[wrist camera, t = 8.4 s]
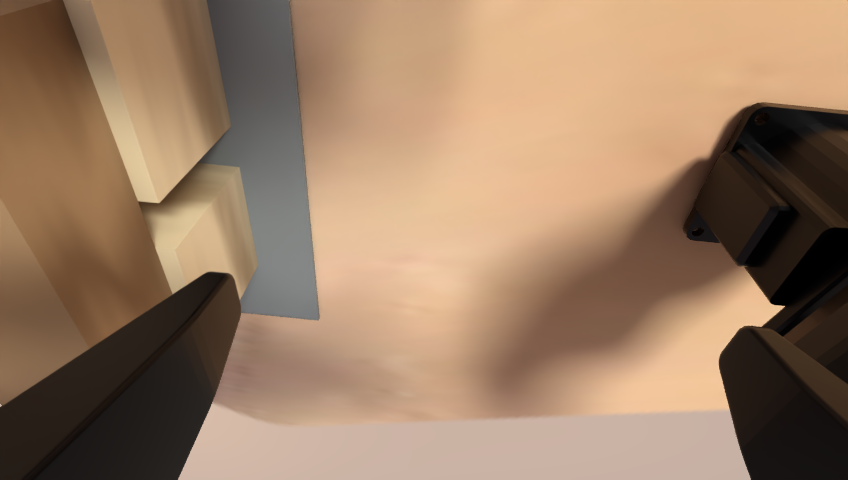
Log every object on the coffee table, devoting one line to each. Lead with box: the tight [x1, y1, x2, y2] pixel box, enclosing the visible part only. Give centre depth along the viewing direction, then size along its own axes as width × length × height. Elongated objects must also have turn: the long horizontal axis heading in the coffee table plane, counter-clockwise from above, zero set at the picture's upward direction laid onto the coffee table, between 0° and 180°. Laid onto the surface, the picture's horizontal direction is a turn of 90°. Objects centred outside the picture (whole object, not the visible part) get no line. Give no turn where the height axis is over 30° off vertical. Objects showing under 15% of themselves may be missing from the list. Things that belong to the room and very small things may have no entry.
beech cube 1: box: [63, 0, 231, 203], centre depth 16 cm, size 6×6×6 cm
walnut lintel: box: [0, 0, 172, 406], centre depth 14 cm, size 14×4×4 cm, turn 175°
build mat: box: [197, 0, 319, 320], centre depth 20 cm, size 12×22×1 cm, turn 175°
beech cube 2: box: [138, 163, 258, 299], centre depth 20 cm, size 6×6×6 cm
